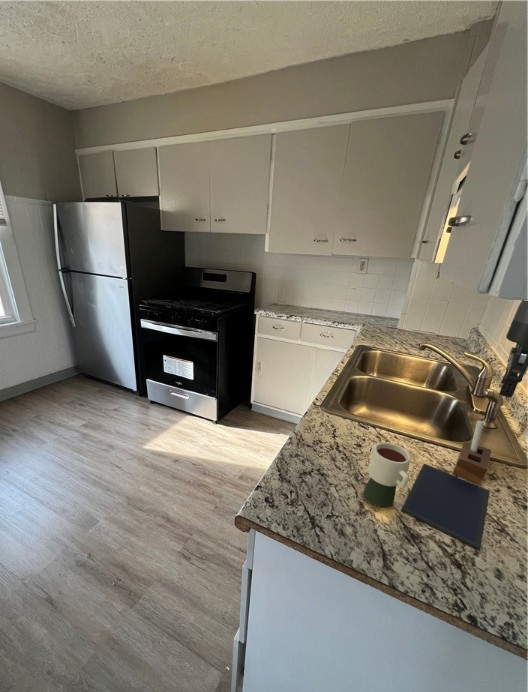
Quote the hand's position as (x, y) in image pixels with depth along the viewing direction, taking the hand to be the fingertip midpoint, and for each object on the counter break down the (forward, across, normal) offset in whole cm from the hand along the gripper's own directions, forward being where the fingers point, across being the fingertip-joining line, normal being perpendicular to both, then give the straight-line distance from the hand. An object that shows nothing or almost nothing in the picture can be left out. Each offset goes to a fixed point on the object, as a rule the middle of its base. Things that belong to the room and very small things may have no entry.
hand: (505, 389), depth 72 cm
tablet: (+22, -19, +3) cm, 29 cm away
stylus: (+22, -1, +1) cm, 22 cm away
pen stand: (+22, -3, +1) cm, 22 cm away
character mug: (+22, -29, +15) cm, 39 cm away
